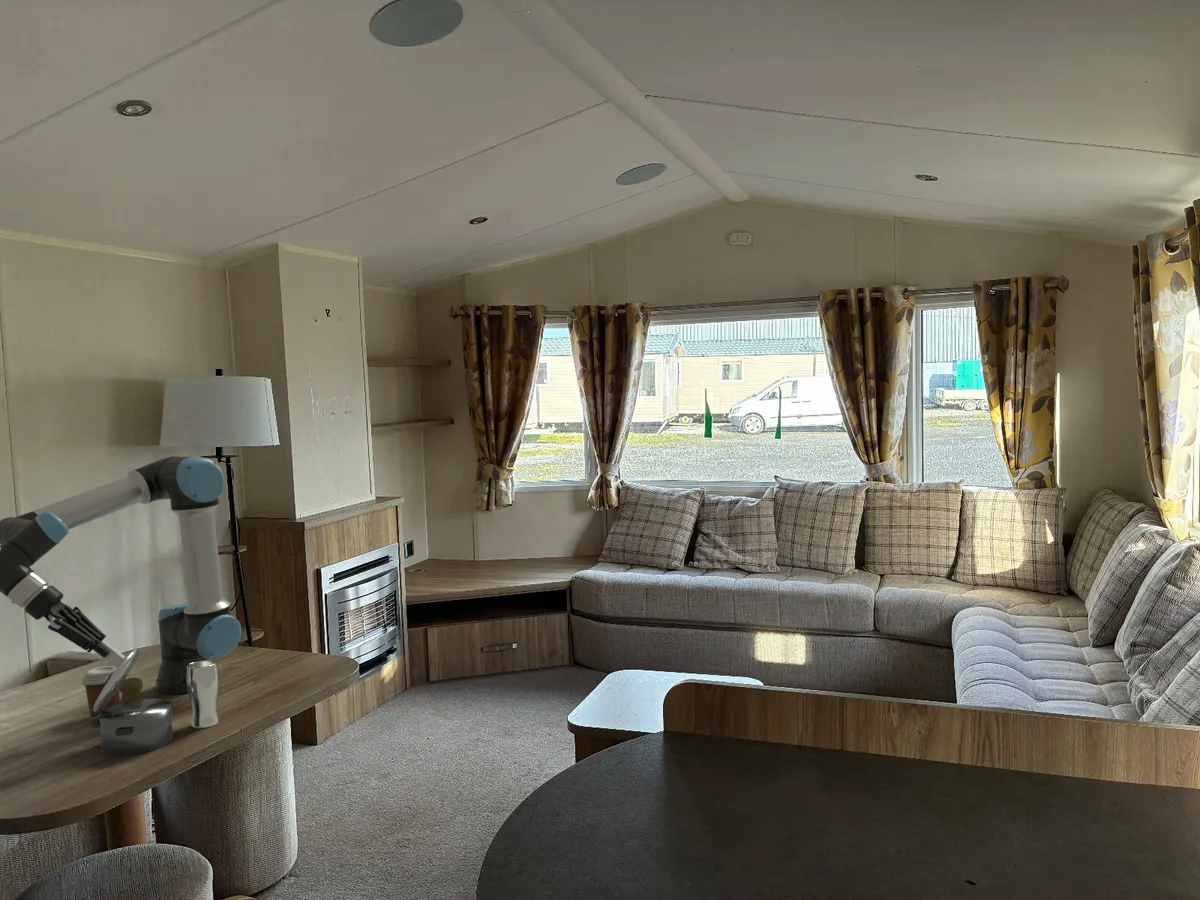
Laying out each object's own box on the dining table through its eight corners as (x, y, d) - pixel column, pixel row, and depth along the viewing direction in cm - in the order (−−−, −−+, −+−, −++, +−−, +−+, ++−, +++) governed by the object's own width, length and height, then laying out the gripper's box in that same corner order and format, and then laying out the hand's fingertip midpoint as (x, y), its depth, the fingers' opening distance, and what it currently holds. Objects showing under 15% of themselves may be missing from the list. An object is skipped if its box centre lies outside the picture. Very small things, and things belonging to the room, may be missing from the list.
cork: (135, 727, 221) (132, 683, 220) (114, 726, 222) (111, 682, 221) (152, 718, 227) (149, 675, 226) (131, 717, 228) (128, 674, 227)
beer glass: (197, 719, 225) (194, 660, 224) (225, 718, 225) (221, 659, 224) (184, 729, 218) (180, 668, 217) (212, 728, 218) (208, 668, 217)
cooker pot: (82, 763, 199) (80, 728, 199) (112, 732, 218) (109, 699, 218) (160, 755, 202) (158, 720, 202) (182, 725, 221) (180, 693, 221)
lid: (87, 725, 201) (78, 721, 200) (111, 702, 216) (102, 698, 216) (125, 661, 202) (116, 657, 201) (146, 643, 217) (138, 638, 216)
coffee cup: (78, 717, 229) (75, 671, 228) (116, 707, 236) (113, 662, 235) (93, 725, 223) (89, 677, 222) (131, 714, 230) (128, 668, 229)
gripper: (37, 602, 211) (118, 666, 215) (11, 616, 198) (99, 683, 202) (60, 578, 211) (141, 642, 215) (36, 590, 198) (123, 658, 203)
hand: (121, 662), depth 209 cm, fingers closed
